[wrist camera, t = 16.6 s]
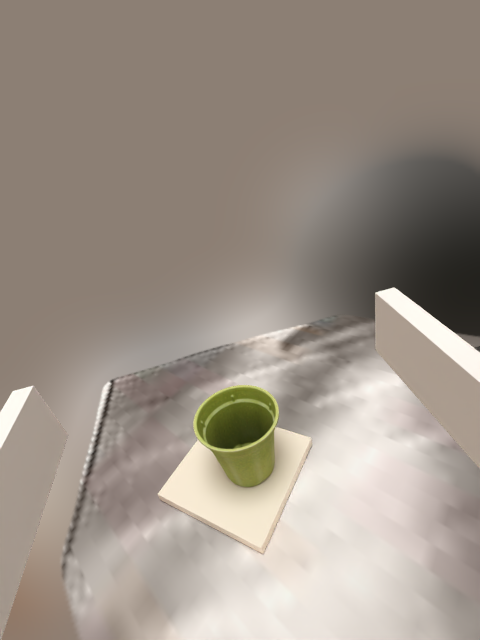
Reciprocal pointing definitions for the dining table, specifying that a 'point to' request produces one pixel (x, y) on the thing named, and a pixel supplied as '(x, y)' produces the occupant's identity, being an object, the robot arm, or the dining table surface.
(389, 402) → the dining table surface
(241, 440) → the plant pot
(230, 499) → the tile
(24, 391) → the robot arm
